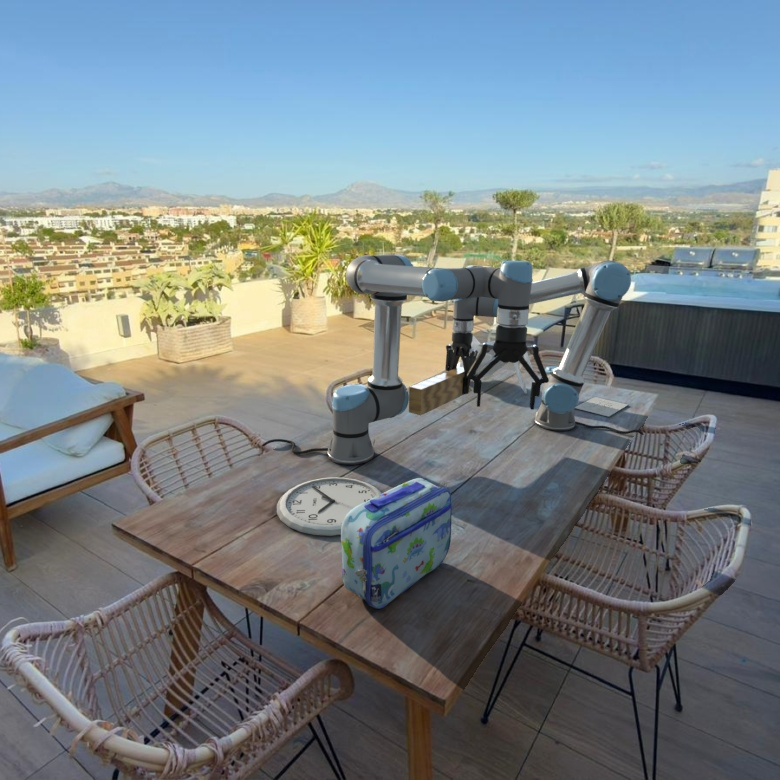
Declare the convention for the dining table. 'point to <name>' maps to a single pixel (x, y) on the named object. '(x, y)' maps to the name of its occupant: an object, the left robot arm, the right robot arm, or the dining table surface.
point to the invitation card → (601, 406)
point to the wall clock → (323, 504)
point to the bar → (436, 391)
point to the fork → (441, 485)
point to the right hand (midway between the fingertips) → (459, 391)
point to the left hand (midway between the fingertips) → (504, 406)
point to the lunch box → (395, 540)
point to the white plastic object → (488, 357)
